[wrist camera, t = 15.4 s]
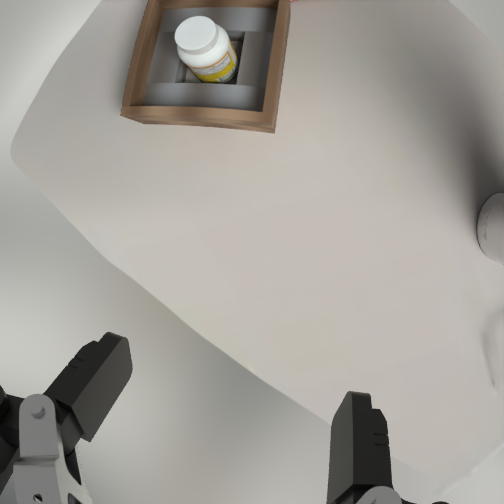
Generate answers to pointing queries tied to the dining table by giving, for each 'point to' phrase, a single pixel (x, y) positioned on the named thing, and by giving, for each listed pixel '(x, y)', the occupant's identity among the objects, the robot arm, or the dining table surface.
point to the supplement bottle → (206, 50)
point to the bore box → (206, 94)
